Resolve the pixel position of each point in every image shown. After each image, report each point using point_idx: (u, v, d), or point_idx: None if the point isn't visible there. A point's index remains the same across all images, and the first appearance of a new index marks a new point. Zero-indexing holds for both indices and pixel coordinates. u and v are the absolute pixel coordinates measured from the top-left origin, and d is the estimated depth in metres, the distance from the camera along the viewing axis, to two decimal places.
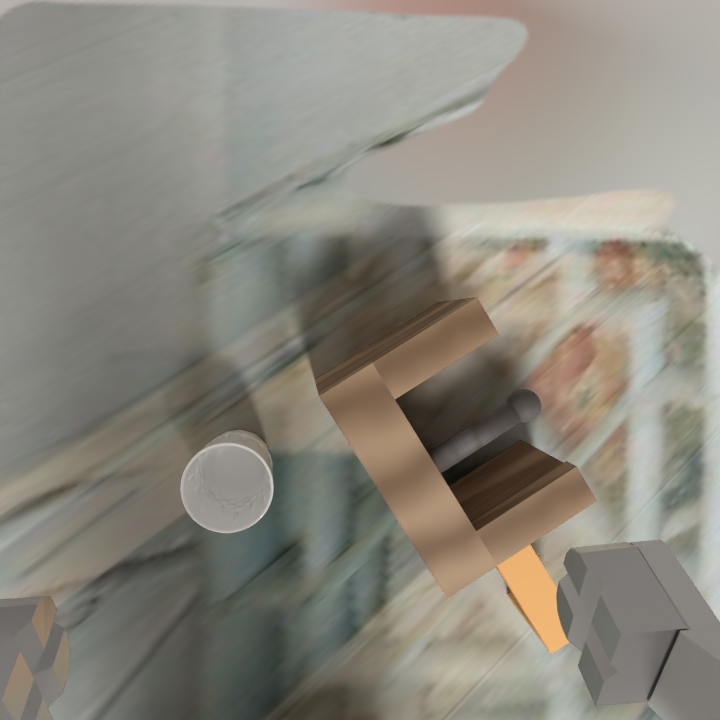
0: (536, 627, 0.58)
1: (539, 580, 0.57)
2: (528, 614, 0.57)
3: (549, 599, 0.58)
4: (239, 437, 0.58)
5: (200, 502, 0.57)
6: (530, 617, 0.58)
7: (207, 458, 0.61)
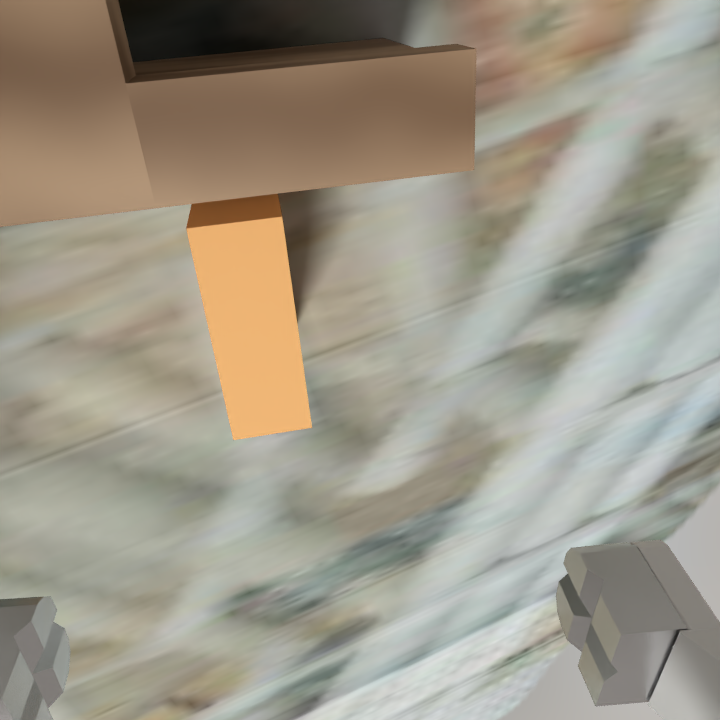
0: (224, 385, 0.27)
1: (268, 301, 0.26)
2: (217, 356, 0.27)
3: (273, 346, 0.27)
4: None
5: None
6: (220, 363, 0.27)
7: None
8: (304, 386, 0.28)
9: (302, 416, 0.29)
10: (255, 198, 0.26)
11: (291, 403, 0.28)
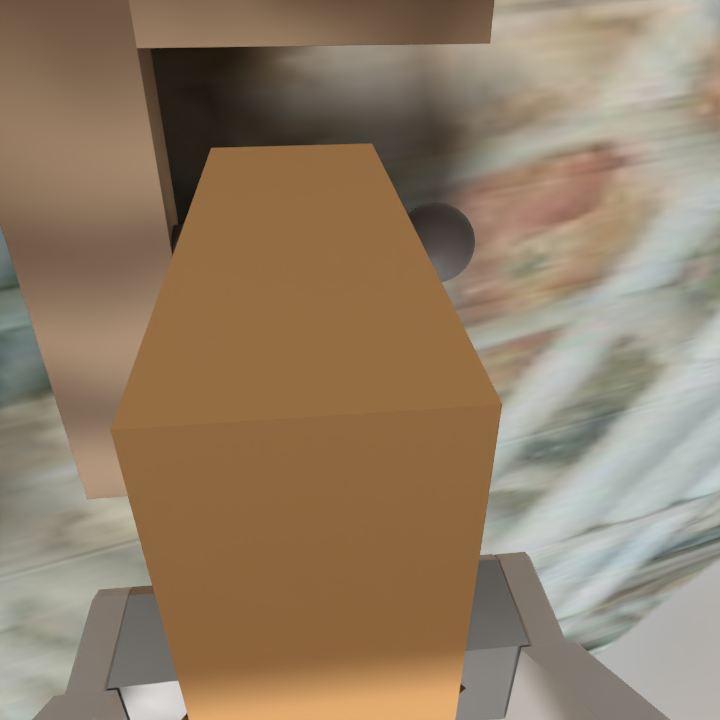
0: None
1: (386, 634, 0.08)
2: None
3: None
4: None
5: None
6: None
7: None
8: None
9: None
10: (366, 278, 0.08)
11: None
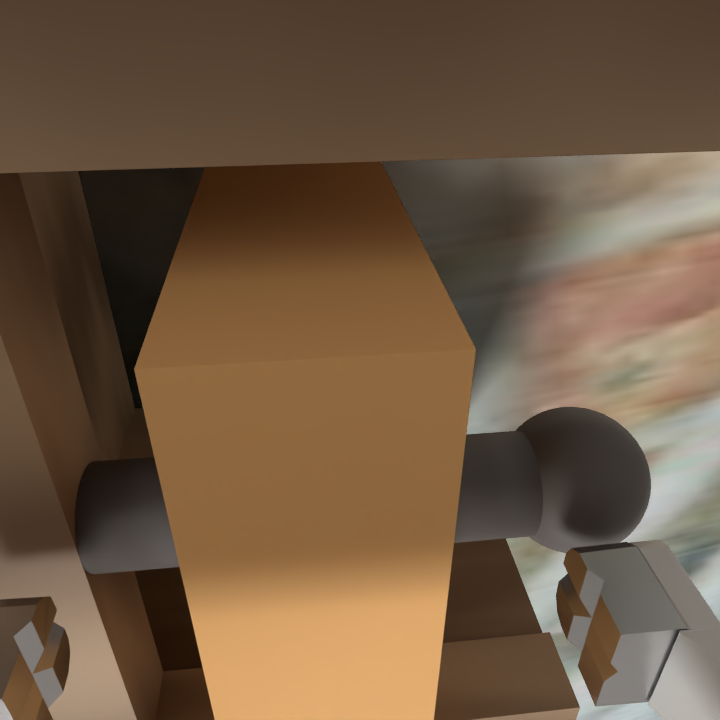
0: None
1: (377, 568, 0.09)
2: (214, 680, 0.09)
3: (369, 660, 0.10)
4: None
5: None
6: (218, 691, 0.10)
7: None
8: None
9: None
10: (359, 249, 0.09)
11: None
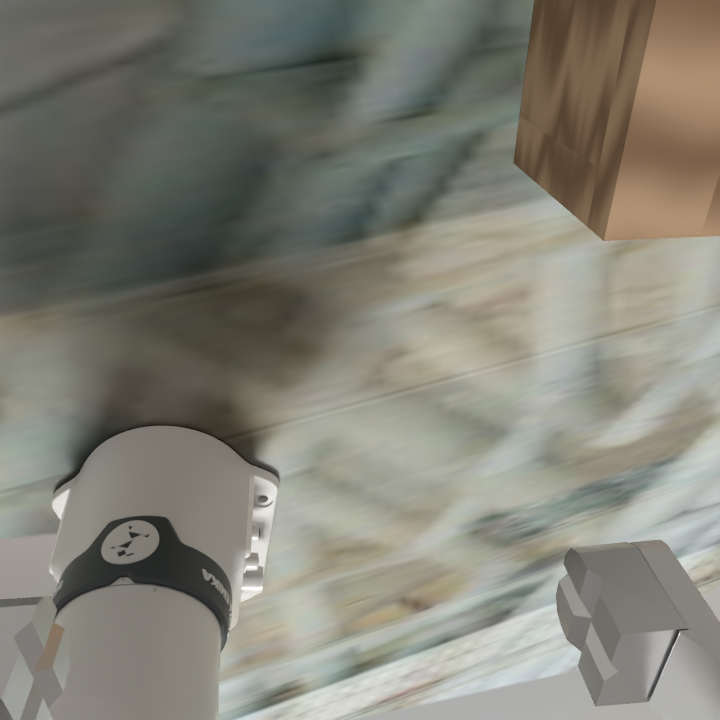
0: None
1: None
2: None
3: None
4: None
5: None
6: None
7: None
8: None
9: None
10: None
11: None
